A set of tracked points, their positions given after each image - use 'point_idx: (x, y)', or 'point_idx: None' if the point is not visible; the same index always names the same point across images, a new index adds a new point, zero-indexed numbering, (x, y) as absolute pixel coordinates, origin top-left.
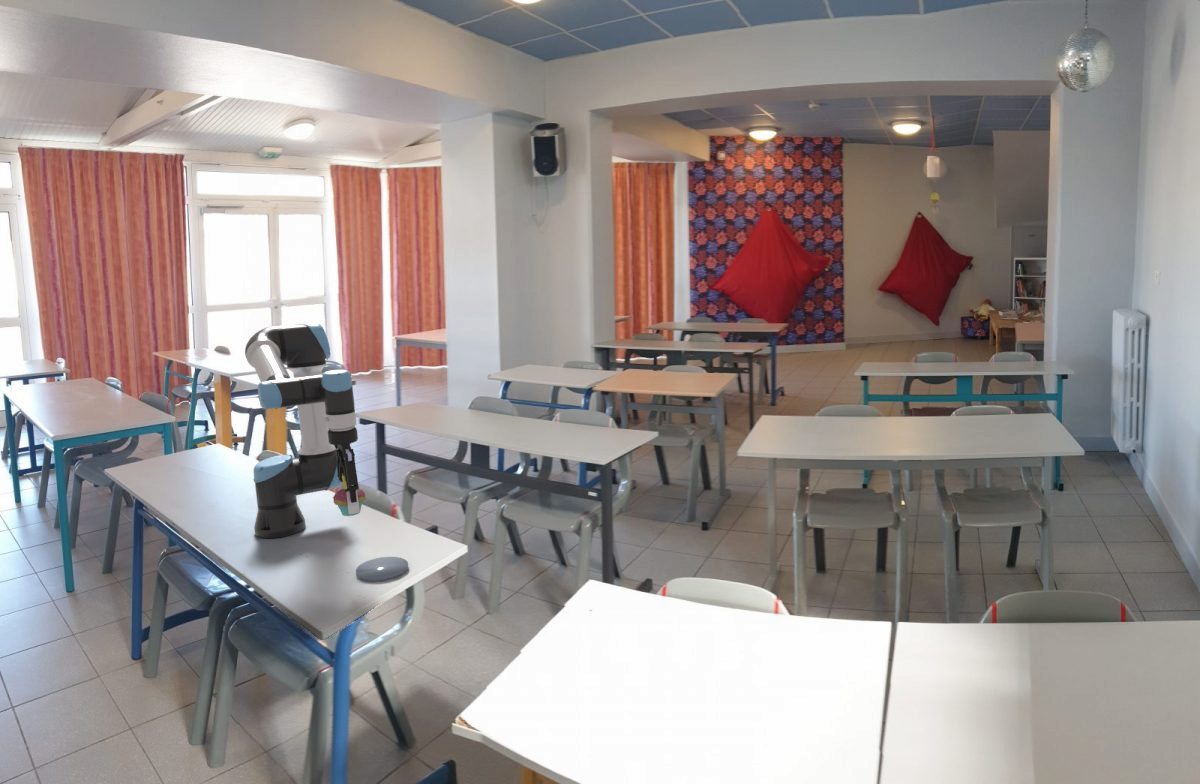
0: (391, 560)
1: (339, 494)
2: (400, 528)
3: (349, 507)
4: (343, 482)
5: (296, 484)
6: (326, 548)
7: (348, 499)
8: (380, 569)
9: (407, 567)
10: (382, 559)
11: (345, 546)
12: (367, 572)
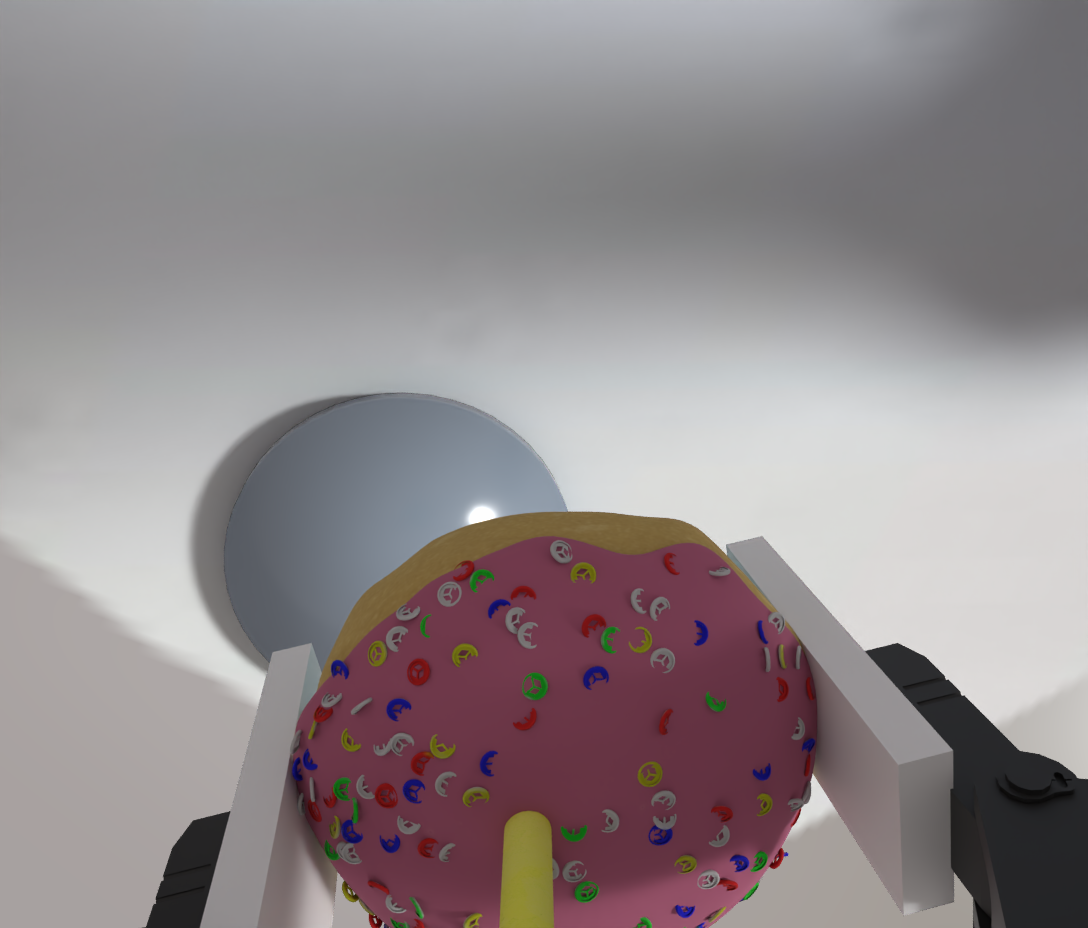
0: None
1: (456, 703)
2: (1063, 648)
3: (256, 725)
4: None
5: None
6: (997, 173)
7: (234, 819)
8: (363, 558)
9: None
10: None
11: (957, 313)
12: (340, 478)
